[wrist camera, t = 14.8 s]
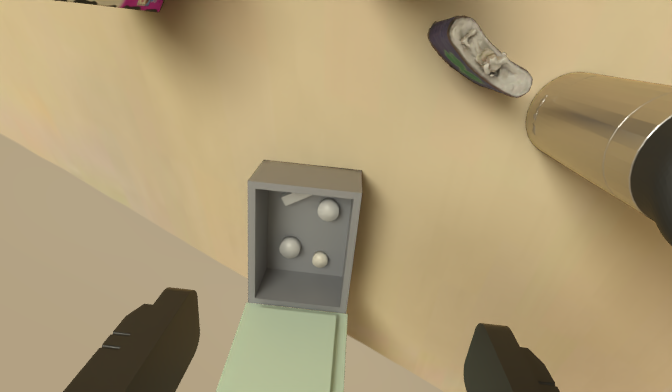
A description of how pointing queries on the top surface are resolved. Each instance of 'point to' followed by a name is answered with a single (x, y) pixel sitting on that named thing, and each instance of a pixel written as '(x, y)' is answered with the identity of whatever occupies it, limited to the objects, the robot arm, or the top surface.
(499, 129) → the top surface
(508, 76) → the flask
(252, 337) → the lid
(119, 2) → the candy bar box
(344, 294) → the tub
